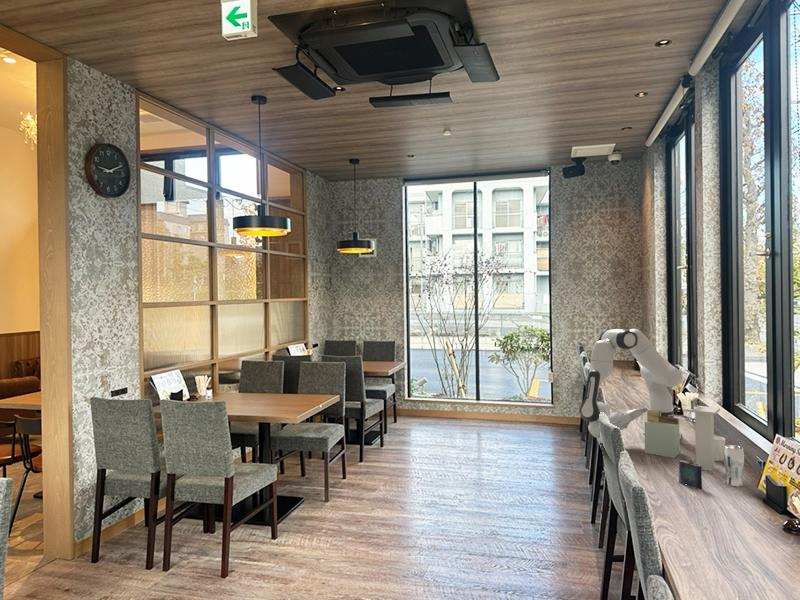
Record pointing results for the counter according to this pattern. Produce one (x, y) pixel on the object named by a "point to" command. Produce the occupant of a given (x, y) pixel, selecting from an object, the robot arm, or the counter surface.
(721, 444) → the white cup
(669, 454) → the sage pedestal
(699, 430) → the tall stand
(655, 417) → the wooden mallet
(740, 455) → the beer glass
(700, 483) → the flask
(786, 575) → the counter surface
